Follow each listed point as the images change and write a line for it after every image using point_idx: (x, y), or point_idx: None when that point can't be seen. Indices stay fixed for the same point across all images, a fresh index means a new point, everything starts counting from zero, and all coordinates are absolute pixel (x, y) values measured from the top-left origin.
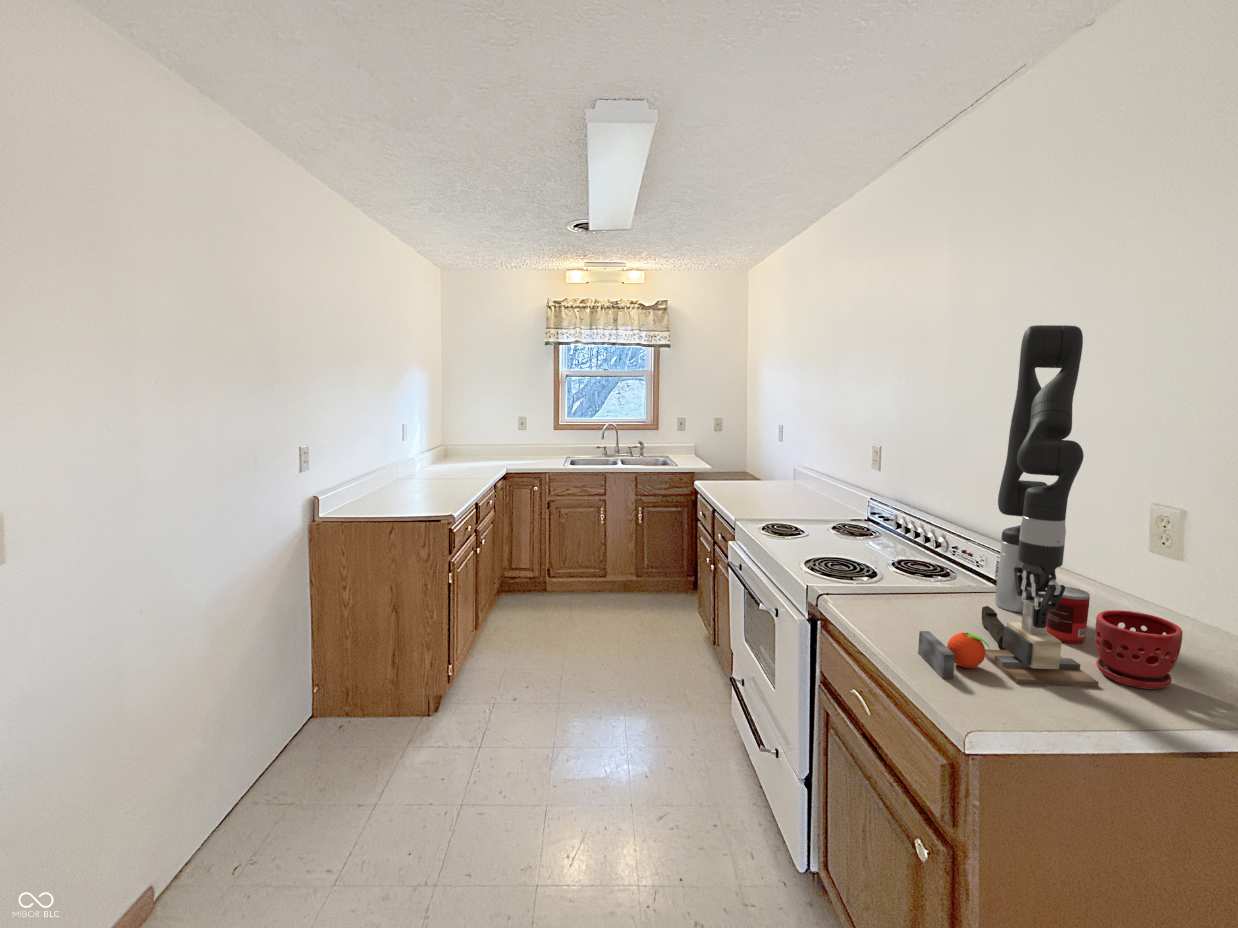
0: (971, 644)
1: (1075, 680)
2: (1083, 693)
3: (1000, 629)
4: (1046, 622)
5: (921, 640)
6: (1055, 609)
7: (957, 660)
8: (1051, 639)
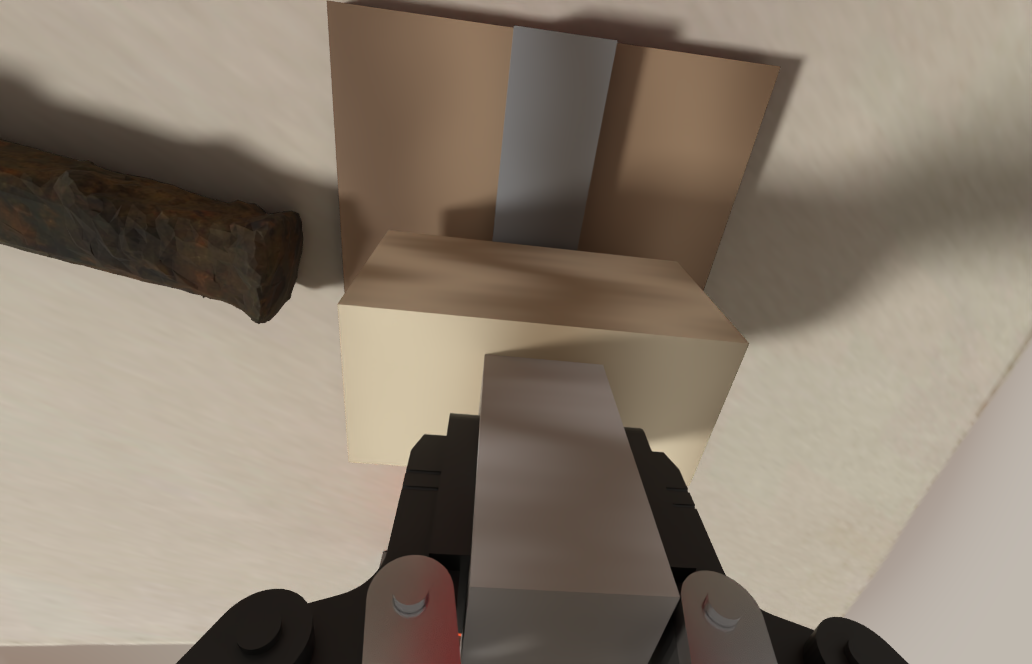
0: None
1: (729, 196)
2: (793, 211)
3: (136, 268)
4: (682, 480)
5: None
6: (872, 637)
7: None
8: (696, 384)
